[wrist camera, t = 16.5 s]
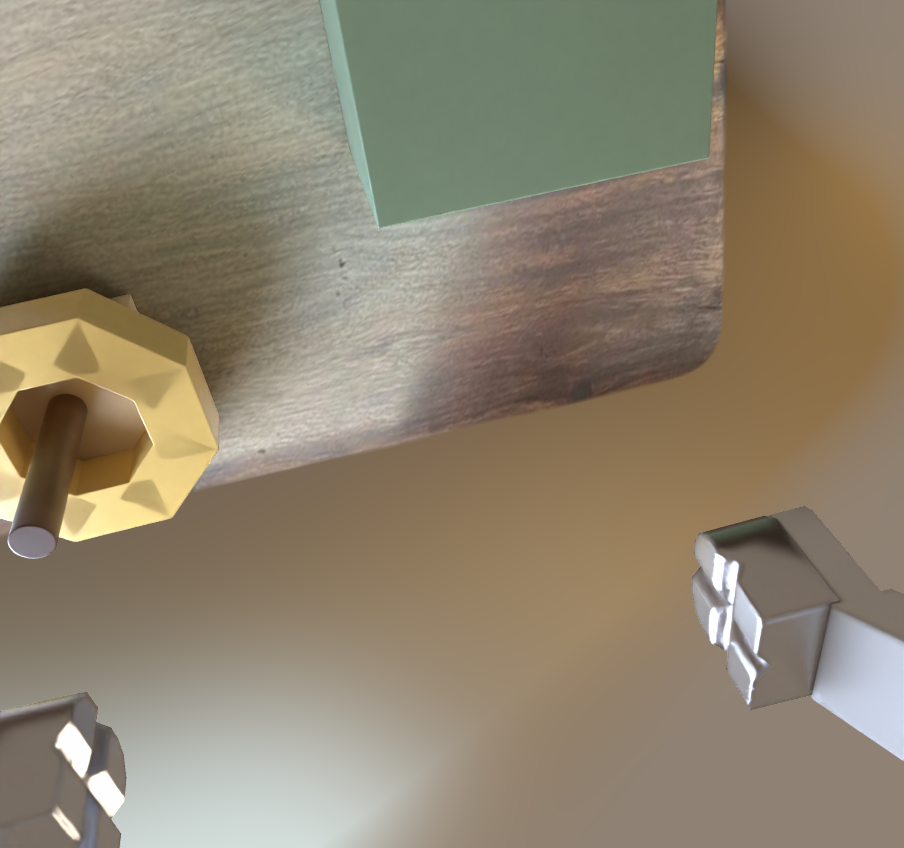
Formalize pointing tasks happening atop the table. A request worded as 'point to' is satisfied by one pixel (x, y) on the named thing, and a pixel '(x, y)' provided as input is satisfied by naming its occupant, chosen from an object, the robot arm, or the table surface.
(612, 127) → the plinth
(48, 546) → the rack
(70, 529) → the brass ring
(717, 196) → the table surface
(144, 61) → the table surface
